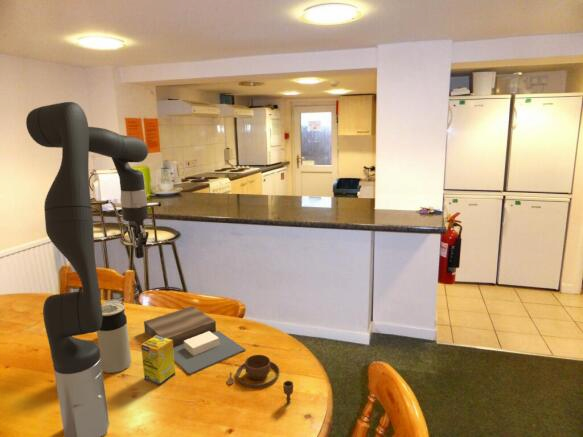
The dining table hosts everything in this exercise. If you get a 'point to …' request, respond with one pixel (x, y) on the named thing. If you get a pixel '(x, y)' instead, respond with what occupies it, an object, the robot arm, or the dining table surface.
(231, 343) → the rubber mat
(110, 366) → the travel mug
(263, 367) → the place setting
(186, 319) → the walnut board
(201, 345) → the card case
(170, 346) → the supplement box
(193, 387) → the dining table surface
